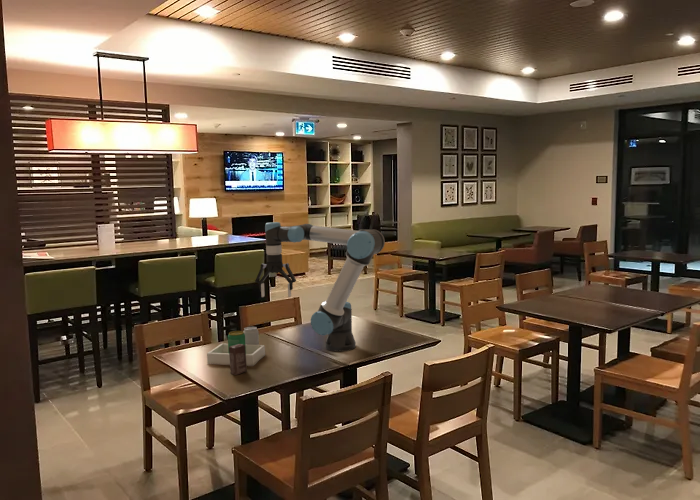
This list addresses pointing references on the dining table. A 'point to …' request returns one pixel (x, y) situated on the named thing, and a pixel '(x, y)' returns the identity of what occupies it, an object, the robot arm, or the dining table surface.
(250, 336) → the can
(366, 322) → the dining table surface
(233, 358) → the box
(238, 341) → the beverage can
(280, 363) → the dining table surface
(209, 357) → the bus tub
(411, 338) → the dining table surface
